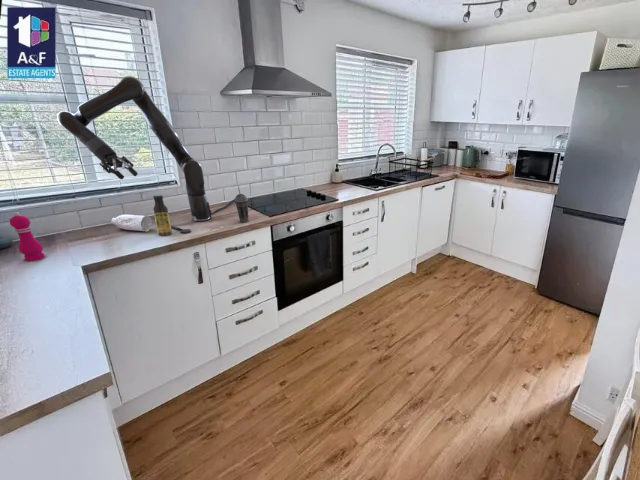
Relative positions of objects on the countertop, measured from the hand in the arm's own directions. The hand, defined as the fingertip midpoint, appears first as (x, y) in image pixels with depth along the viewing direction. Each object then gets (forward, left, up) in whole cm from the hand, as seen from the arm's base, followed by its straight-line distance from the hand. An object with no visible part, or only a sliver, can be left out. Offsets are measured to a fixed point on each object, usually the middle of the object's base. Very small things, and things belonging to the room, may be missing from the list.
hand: (129, 176), depth 177 cm
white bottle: (+2, -8, -28) cm, 30 cm away
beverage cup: (-43, +24, -28) cm, 57 cm away
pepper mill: (+45, -2, -28) cm, 53 cm away
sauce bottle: (-5, +11, -28) cm, 31 cm away
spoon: (-12, +10, -28) cm, 32 cm away
